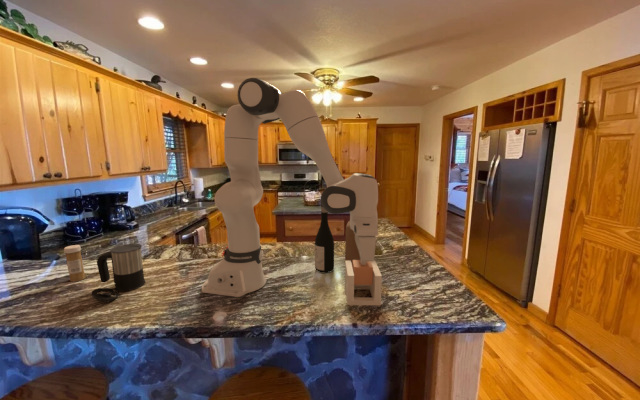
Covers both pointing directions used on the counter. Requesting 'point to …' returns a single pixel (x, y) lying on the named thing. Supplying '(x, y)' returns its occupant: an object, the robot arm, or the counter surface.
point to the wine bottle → (324, 246)
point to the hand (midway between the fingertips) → (362, 263)
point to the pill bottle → (74, 262)
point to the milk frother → (120, 271)
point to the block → (362, 273)
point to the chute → (363, 286)
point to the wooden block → (350, 245)
